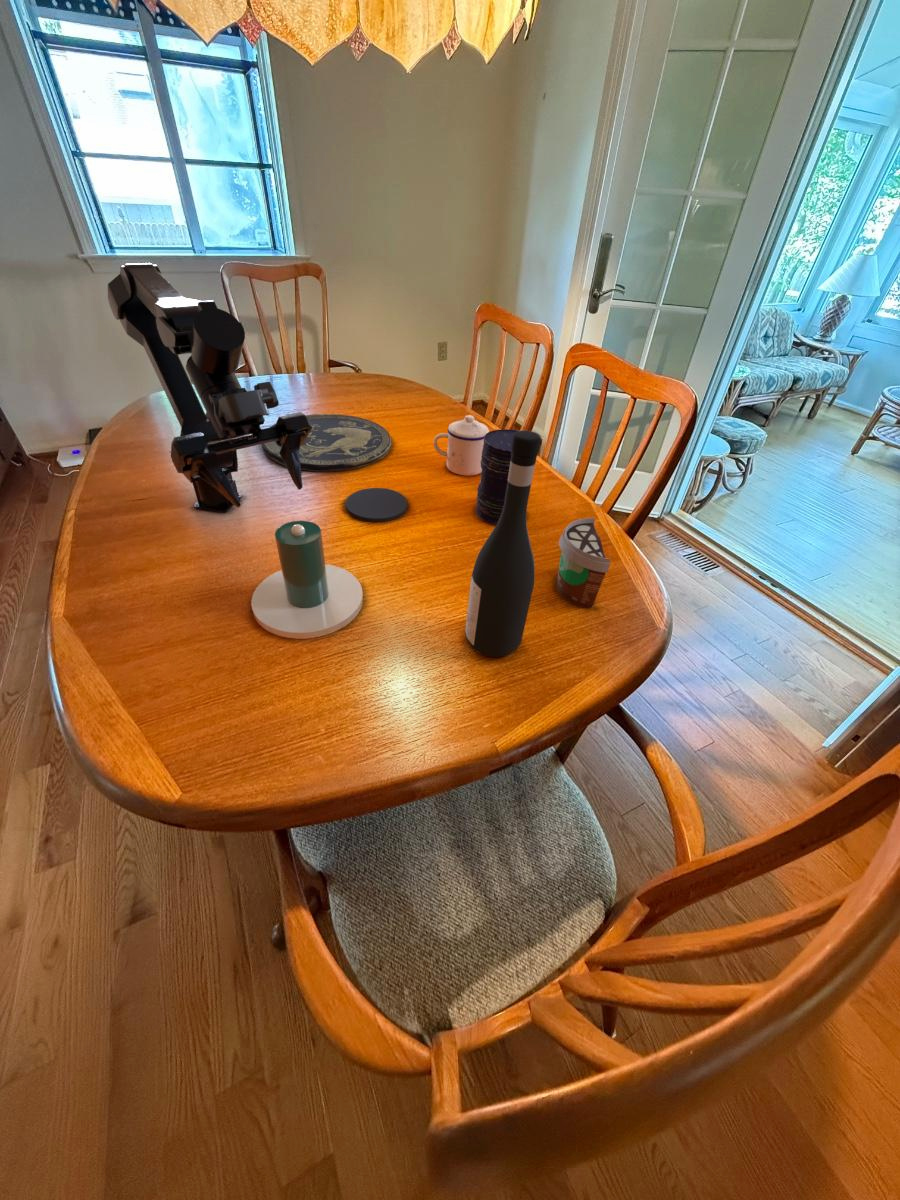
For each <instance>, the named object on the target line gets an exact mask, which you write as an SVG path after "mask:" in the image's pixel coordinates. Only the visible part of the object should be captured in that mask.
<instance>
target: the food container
mask: <svg viewBox="0 0 900 1200" xmlns="http://www.w3.org/2000/svg"><path fill="white" fill-rule="evenodd" d="M595 522H596V517H585V518H578V519H575V520H573V521H572V522H570V523H569V524H568V525H567V526H566V527H565V528H564V530H563V532H562V533H561V535H560V538H559V540H558V546H559V548H560V551H561V554H560V559H559V565H558V570H557V571H558V572H557V578H556V583H555V585H556V589H557V591H558V593H559V594H560V595H561V596H562V597H563V598H564V599H565V600H567V601H568V602H570V603H571V604H575V605H577V606H579V607H584V608H590V609H591V608H593V606H594V604H595V601H596V598H597V596H598V593H599V591H600V588H601V585H602V583H603V581H604V578H605V575H606V574H608V573H609V569H610V565H611V559H612V558H607V557H606V555H605V552H604V548H603V544H602V540H601V538H600V536H599V534H598V532H597V530H596V527H595Z"/></svg>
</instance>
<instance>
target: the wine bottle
mask: <svg viewBox="0 0 900 1200" xmlns="http://www.w3.org/2000/svg"><path fill="white" fill-rule="evenodd" d="M541 445H542V436H541V435H540V434H539V433H537V432H535V431H532V430H527V429H525V430H524V429H523V430H522V429H521V430H517V432H515V433H514V434H513V437H512V443H511V450H512V451H511V453H512V454H511V461H510V468H509V475H508V481H507V488H506V495H505V501H504V507H503V510H502V513H501V516H500V518H499V521H498V522H497V524H496V525H494V527H493V529H492V531H491V533H490V534H489V536H488V537H487V539H486V540H485V542H484V543H483V545H482V547H481V549H480V550H479V553H478V555H477V557H476V559H475V562H474V566H473V569H472V573H471V578H470V585H469V594H468V595H469V596H468V604H467V612H466V619H465V620H466V622H465V629H464V634H465V639H466V641H467V643H468V645H469V646H470V647H471V649H473V651H475V652H477V653H479V655H482V656H486V657H488V658H489V657H491V658H502V657H507V656H509V655H511V654H512V653H514V652H516V651H517V650H518V648H519V647H520V645H521V643H522V639H523V636H524V632H525V628H526V627H525V626H526V623H527V618H528V613H529V609H530V605H531V601H532V595H533V592H534V587H535V579H536V577H535V576H536V575H535V574H536V563H535V557H534V552H533V548H532V544H531V541H530V536H529V532H528V525H527V524H528V523H527V509H528V503H529V499H530V498H529V497H530V492H531V487H532V483H533V477H534V472H535V468H536V463H537V462H536V461H537V458H538V454H539V453H540V450H541Z"/></svg>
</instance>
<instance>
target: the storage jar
mask: <svg viewBox="0 0 900 1200" xmlns="http://www.w3.org/2000/svg"><path fill="white" fill-rule="evenodd" d="M517 431H518V430H516V429H509V428H508V429H506V428H505V429H504V428H503V429H502V428H501V429H494V430H491V431H490V430H489V432H488V433H487V434H485V436H484V444H483V449H482V456H481V457H482V459H481V468H482V472H481V473H480V481H479V483H478V485H477V486H478V487H477V494H476V508H475V513H476V515H477V517H478V518H479V519H481V521H483V522H485V523H487V524H490V525H494V526H496V524H497V522H498V521H499V518H500V516H501V513H502V510H503V507H504V501H505V495H506V488H507V481H508V475H509V468H510V461H511V454H512V453H511V451H512V450H511V443H512V437H513V434H514V433H515V432H517Z"/></svg>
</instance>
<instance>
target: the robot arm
mask: <svg viewBox="0 0 900 1200" xmlns="http://www.w3.org/2000/svg"><path fill="white" fill-rule="evenodd" d="M107 300H108V305H109V308H110V310H111V312H112V314H113V316H114V319H116V321H119V322H120V324H121V326H122V328H123V329H124V331H125V334H126V335H127V336H128V337H130V338H131V339H133V340H134V341H135V342H137V343H138V344H140V346H142V347H143V348H144V351H145V353H146V355H147V357H148V359H149V361H150V364H151V365H152V367H153V370H154V372H155V375H156V376H157V378H158V380H159V383H160V385H161V387H162V389H163V391H164V394H165V396H166V398H167V400H168V402H169V404H170V406H171V408H172V410H173V413H174V415H175V417H176V419H177V421H178V424H179V425H180V426H179V427H180V434H179V436H173V439H172V441H171V446H170V458H171V459H170V460H171V461H172V464H173V466H174V468H175V470H176V472H177V473H178V474H182V475H183V477H185V478H186V479H187V480H188V481H189V483H190V484H192V487H193V490H194V493H195V496H196V500H197V501H196V502H195V503H194V504H193V505H192V506H193V508H194V509H196V510H197V509H198V510H204V511H212V512H218V513H223V514H224V513H227V512H229V510H231V509H232V507H236V508H241V506H242V505H241V501H240V500H241V499H242V498H243V496H242V494H241V493H239V491H238V488H237V484H236V483H237V482H236V480H235V479H234V478H233V474H232V473H237V472H239V463H238V452H237V451H238V450H242V449H246V448H250V447H251V448H252V447H255V446H261V444H264V443H269V442H273V441H276V443H277V445H278V446H280V447H282V448H281V450H280V452H279V453H280V456H281V458H282V460H283V462H284V464H285V465H284V466H285V468H286V470H287V472H288V474H289V477H290V478H291V480H292V483H293V484H294V485H295V487H296V488H297V490H298V491H299V490H302V489H303V477H302V470H301V468H300V458H299V451H300V447H301V445H302V444H303V443H304V442H305V440H306V438H307V436H308V435H309V433H310V431H311V429H312V428H313V427H312V425H311V423H310V421H309V419H308V417H307V416H306V415H307V414H304V413H302V412H301V411H299V412H295V413H294V412H293V413H289V414H288V413H287V414H284V415H279V416H278V417H277V421H276V422H275V424H276V425H275V427H271V426H269V427H270V428H269V427H265V428H261V425H262V426H263V425H264V423H265V421H266V419H265V417H264V416H269V415H270V412H269V409H270V410H271V409H274V408H276V407H278V406H279V404H280V403H279V398H278V395H277V392H276V390H275V388H274V386H273V385H272V383H271V381H270V380H269V381H264V382H258V383H257V384H254V386H253V389H252V390H247V388H246V387H242V385H241V384H240V382H239V380H238V377H237V375H236V374H235V372H236V371H237V369H239V365H240V361H241V356H242V352H243V349H244V348H243V347H244V344H245V339H246V332H245V329H244V326H243V324H242V323H241V322H240V321H239V320H238V319H237V318H236V317H235V316H234V315H233V314H231V313H229V312H228V311H226V310H224V309H220V308H218V306H217V304H216V302H215V300H198V299H193V298H187V297H184V296H183V295H182V294H181V293H180V292H179V291H178V290H177V289H176V288H175V287H174V286H173V285H172V284H171V283H170V282H169V281H168V280H167V279H166V278H165V277H164V276H163V275H162V271H161V270H160V268H159V266H158V265H157V264H153V263H152V262H151V263H150V262H148V263H147V262H145V263H144V262H143V263H139V262H138V263H125V264H124V265H120V268H119V274H118V275H116V277H114V278H113V279H112V280H111V281H110V282H108V283H107ZM187 354H190V356H189V357H188V358H187V360H186V364H185V367H184V364H183V362H182V360H181V358H180V356H181V355H187ZM179 355H180V356H179ZM200 401H201V402H200ZM201 403H202V404H201Z"/></svg>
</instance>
